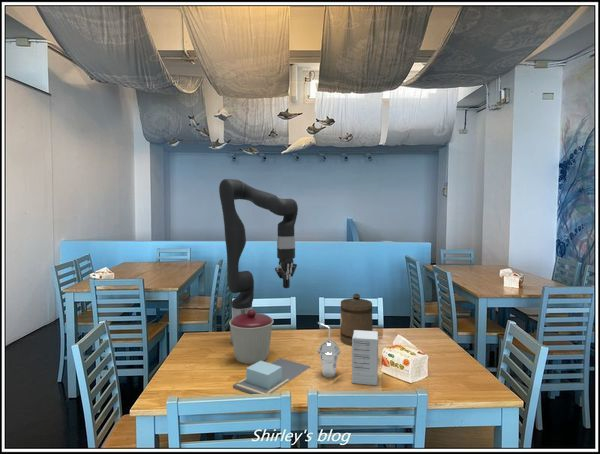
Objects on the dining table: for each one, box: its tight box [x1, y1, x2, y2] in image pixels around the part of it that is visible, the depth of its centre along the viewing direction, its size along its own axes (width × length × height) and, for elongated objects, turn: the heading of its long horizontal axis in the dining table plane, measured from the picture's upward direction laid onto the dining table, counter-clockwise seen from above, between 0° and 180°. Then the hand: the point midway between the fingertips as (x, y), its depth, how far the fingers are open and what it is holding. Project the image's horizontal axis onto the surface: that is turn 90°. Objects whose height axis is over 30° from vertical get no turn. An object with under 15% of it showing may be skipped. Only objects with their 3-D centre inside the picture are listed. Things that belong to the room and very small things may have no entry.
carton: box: [245, 361, 282, 389], centre depth 144 cm, size 10×8×5 cm
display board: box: [232, 357, 312, 395], centre depth 148 cm, size 15×28×1 cm, turn 146°
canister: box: [228, 309, 274, 365], centre depth 164 cm, size 18×18×21 cm
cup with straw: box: [317, 321, 341, 378], centre depth 148 cm, size 8×9×20 cm
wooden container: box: [339, 293, 373, 346], centre depth 186 cm, size 15×15×22 cm
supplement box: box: [351, 330, 379, 386], centre depth 147 cm, size 10×9×17 cm
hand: (286, 287), depth 167 cm, fingers closed
